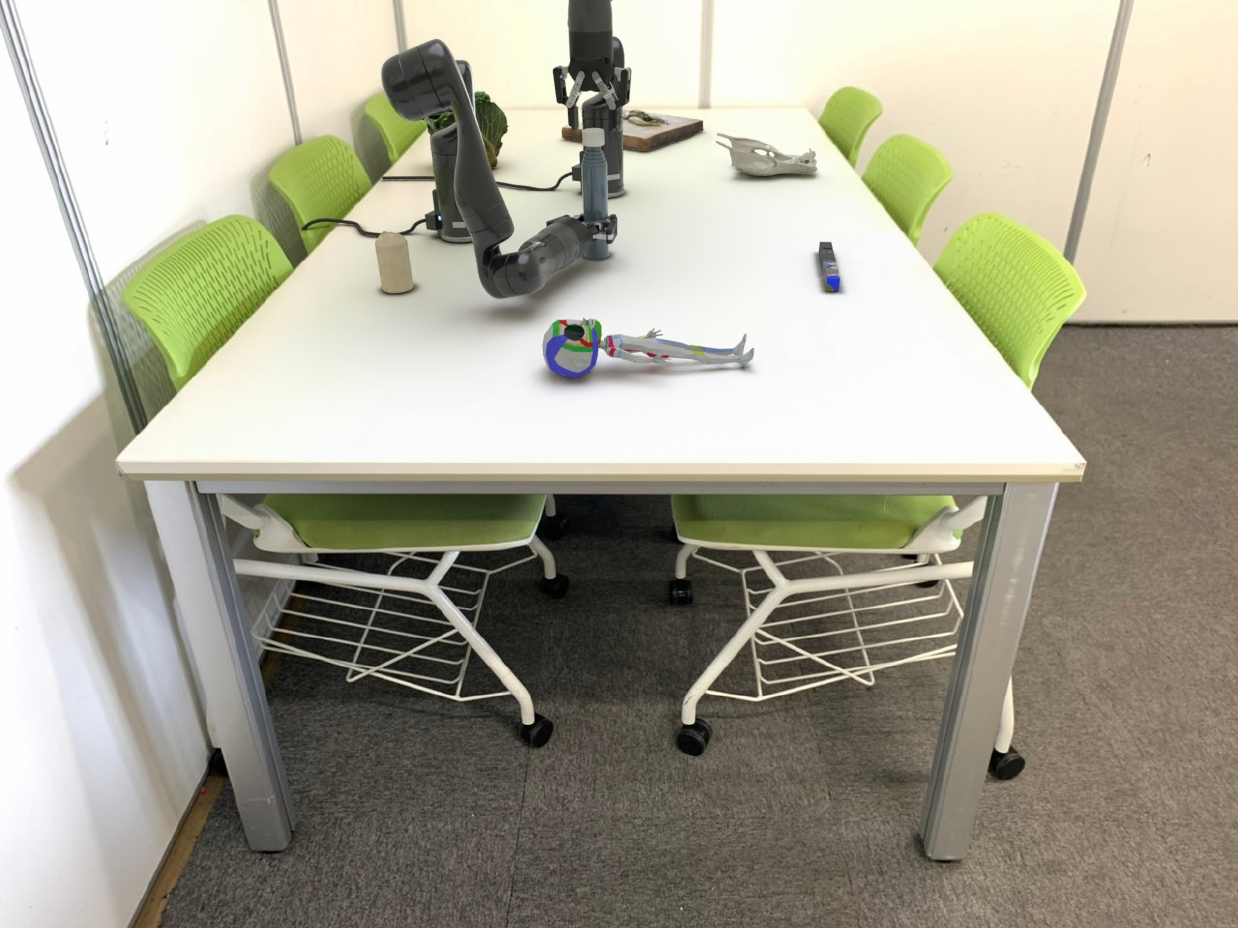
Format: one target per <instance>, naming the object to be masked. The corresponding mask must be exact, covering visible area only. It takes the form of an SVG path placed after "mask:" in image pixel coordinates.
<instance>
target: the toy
mask: <svg viewBox="0 0 1238 928" xmlns="http://www.w3.org/2000/svg"><path fill="white" fill-rule="evenodd" d="M602 327H603V326H602V324H601V321H599V320H597V319H596V318H595V319H594V318H588V319H586V318H585V317H583V318H582V320H580V319H570V318H569V319H556V320H555V321H554V322H552V323H551V325H549V328H548V329H547V331H546V332H545V333H544V335H543V338H542V343H541V348H542V357H543V359H544V362H545V365H546V368H547V369H548V370H550V371H551V372H553V373H554V374H556V375H559V376H562V377H566V378H573V379H574V378H575V379H577V378H580V377H582V376H585V375H586V374H590V373H591V371H592V370H593V369H594V367H596V365H597V362H598V357H599V349H600V350H603V351H604V352H605V353H606V356H608V357H610V358H612V359H621V360H624V361H630V362H632V363H636V364H659V365H664V366H667V367H670V366H671V365H674V362H672V359H683V360H691V361H697V362H701V363H705V364H706V365H707V364H708V365H723V364H730V363H738V364H739V365H742V366H746V365H748V364H749V362H751V361H752V360H753V359H754V356H755V347H752V348H750V350H749V351H747V352H746V353H744V350H745V345H746V342H747V333H746V332H745V333H744V334H743V335H742V336H743V337H742V339H741V340H740V342H739V343H737V345H735V346H734V347H732V348H718V347H709V346H703V345H695V344H687V343H684V342H680V341H675V340H670V339H663V338H657V337H662V336H664V334H663V333H660V332H662V330H661V329H659V330H657V331H655V327H653V328H652V329H650V330H649V331H648V333H646V334H645V335H640V336H632V335H625V334H622V333H618V334H607V335H606V336H605V337H604V338H603V340H602V336H603V335H602V333H603V331H602V329H603V328H602ZM636 353H637V354H636ZM638 353H642V354H644V355H641V354H638ZM646 355H647V356H646ZM667 360H668V361H667Z"/></svg>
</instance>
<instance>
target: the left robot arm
mask: <svg viewBox="0 0 1238 928" xmlns="http://www.w3.org/2000/svg"><path fill="white" fill-rule="evenodd" d="M380 80H381V81H380V82H381V87H382V89H383V92H384V94H385V97H386V99H387V102H388V103H389V105H390V106H391V108H392V109H393V110H394V112H395V113H396V115H398V116H399V117H400V118H401V119H403V120H405V121H406V122H410V123H414V122H415V123H416V122H419V121H424V120H423V119H425V118H427V117H429V116H432V115H440V114H444V113H453V114H454V117H455V121H456V122H455V123H453V124H452V125H451V126H449V127H447V128H445V129H442V130H440V131H438V132H436V133H434V134H433V135H432V136H431V138H430V137H429V145H430V151H431V160H432V168H433V176H434V177H435V179H434V184H435V188H434V189H432V191H431V193H432V194H431V195H432V203H433V210H431V211H429V212H427V213H425V214H424V218H421V219H419V220H417V221H415V222H414V223H413V224H412V225H411V227H410V228H409V229H406V230H403V231H399V232H398V233H399V234H401V235H403V236H406V235H409V234H411V233H413V232H414V231H415V230H416V228H417V227H418V226H419V225H421V224H424V223H425V229H426V230H428V231H436V233H437V238H440V239H442V240H444V241H445V242H449V243H450V242H451V243H461V244H463V243H472V245H473V251H474V258H475V262H476V269H477V275H478V279H479V283H480V285H481V287H482V289H483V290H484V291H485V292H486V293H487V294H488V296H490V297H491V298H493V299H495V300H503V299H510V298H511V299H512V298H516V297H522V296H529V295H532V294H535V293H537V292H539V291H540V290H542V289H543V288H544V287H545V286H546V284H547V282H548V281H549V279H550V277H551V276H552V275H553V274H555V273H556V272H558V271H559V270H562V269H564V268H566V267H568V266H569V265H571V264H573V263H574V262H575V261H577V260H578V259H580V258H581V257H582V256H585V253H586V251H587V250H588V248H589V246H590V244H591V243H594V242H597V241H598V239H604V240H605V241H606V244H609V245H612V244H613V243H614V241H615V240H616V239H617V236H618V216H617V214H615V213H612V214H610V215H608V217H607V218H605V219H603V220H598V219H595V220H592V221H589V222H586V221H584V222H583V212H582V213H580V214H574V215H573V216H571V215H570V214H564V215H561V216H558V217H555V218H552V219H550V220H546V221H545V225H546V226H545V227H544V228H543V229H541V230H540V231H538V232H537V234H535V235H533V236H532V237H530V238H528V239H527V240H525V241H524V242H523V243H522V244H521V245H520V246H519V247H518V249H517V251H513V252H508V253H502V251H501V244H503V243H504V242H506V241H507V240H509V239H510V238H511V237H512V236H513V234H514V232H515V225H514V221H513V219H512V216H511V214H510V211H509V209H508V207H507V204H506V201H505V200H504V198H503V195H502V194H501V191H500V188H499V185H497V183H496V181H497V180H496V178H495V176H494V172H493V170H492V167H491V166H490V163H489V160H488V156H487V153H486V149H485V146H484V142H483V139H482V136H481V132H480V129H479V126H478V123H477V120H476V116H475V80H474V73H473V69H472V66H471V64H470V63H469V61H467V60H465V59H455V56H454V55H453V53H452V51H451V50H450V48H449V47H448V45H447V44H446V43H445V42H444V41H443V40H441V39H439V38H433V39H430V40H428V41H425V42H423V43H420V44H418V45H415V46H413V47H410V48H408V49H406V50H403V51H401V52H399V53H396V54H393V55H392V56H390V57H388V58H386V60H385V61H384V62H383V63H382V66H381V69H380ZM318 223H336V224H346V225H351V226H355V227H356V228H357V230H358V232H359V233H360V234H362V235H365V236H371V237H377V238H378V237H379V236H380V234H381V233H382V232H375V231H367V230H364V229H362V227H361V224H359V222H356V221H353V220H348V219H340V218H332V217H331V218H330V217H329V218H328V217H322V218H315V219H312V220H310V221H308V222H307V223H306V224H304V225H303V226H302V228H301V231H305V230H307V229H308V228H309V227H310V226H312V225H315V224H318ZM603 225H604V230H602V226H603Z"/></svg>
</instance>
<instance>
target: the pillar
mask: <svg viewBox="0 0 1238 928" xmlns="http://www.w3.org/2000/svg"><path fill="white" fill-rule="evenodd" d="M818 246H819V247H818V257H819V263H820V267H821V273H822V277H823V284H824V288H825V291H826V292H839V290H840V282H841V278H840V273H839V269H838V264H837V259H836V256H835V252H834V247H833V242H832V241H819V245H818Z"/></svg>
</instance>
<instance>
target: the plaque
mask: <svg viewBox="0 0 1238 928" xmlns="http://www.w3.org/2000/svg"><path fill="white" fill-rule="evenodd" d="M704 130H705V129H704V120H702V119H698V118H693V117H685V116H679V115H669V114H663V113H659V112H650V111H644V110H642V109H637V108H636V109H635V108H634V109H630V110H629V109H623V149H625V150H632V151H640V152H648V151H654V150H656V149H659V148H662V147H663V146H664V147H665V146H667V145H670V144H672V143H676V142H680V141H682V140H684V139H687V138H691V137H692V136H694V135H696V134H698V133H700V132H704ZM561 138H562V139H563V140H568V141H573V142H581V143H583V140H582V120H579V128H578V129H577V130H572V129H571V126H569V124H567V125H564V126H562V127H561Z"/></svg>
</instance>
